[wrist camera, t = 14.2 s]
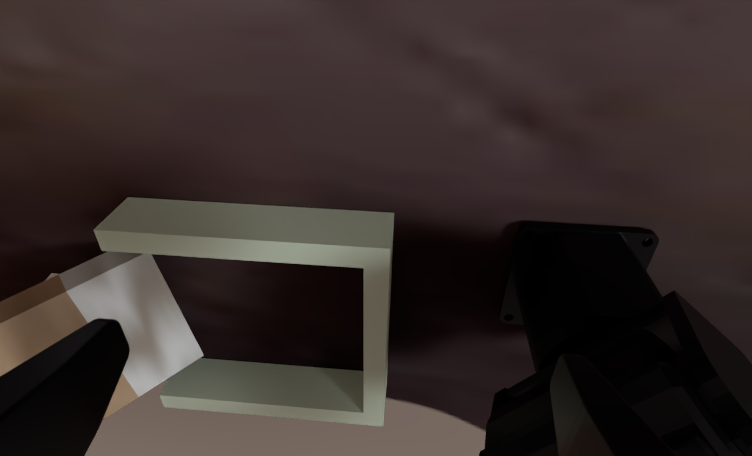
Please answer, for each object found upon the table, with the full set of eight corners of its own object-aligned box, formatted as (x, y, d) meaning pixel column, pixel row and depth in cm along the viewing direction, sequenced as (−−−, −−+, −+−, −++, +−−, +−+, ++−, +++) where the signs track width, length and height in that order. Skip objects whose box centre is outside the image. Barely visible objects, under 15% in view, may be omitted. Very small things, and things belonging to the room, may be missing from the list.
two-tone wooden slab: (137, 237, 25) (-104, 350, 20) (149, 250, 24) (-107, 375, 19) (191, 339, 29) (4, 453, 24) (203, 355, 28) (8, 479, 23)
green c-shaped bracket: (127, 197, 24) (93, 229, 21) (394, 212, 23) (390, 248, 20) (184, 368, 31) (164, 407, 29) (386, 384, 30) (383, 426, 28)
